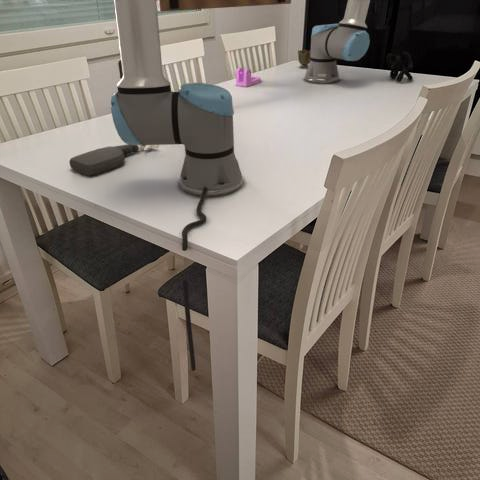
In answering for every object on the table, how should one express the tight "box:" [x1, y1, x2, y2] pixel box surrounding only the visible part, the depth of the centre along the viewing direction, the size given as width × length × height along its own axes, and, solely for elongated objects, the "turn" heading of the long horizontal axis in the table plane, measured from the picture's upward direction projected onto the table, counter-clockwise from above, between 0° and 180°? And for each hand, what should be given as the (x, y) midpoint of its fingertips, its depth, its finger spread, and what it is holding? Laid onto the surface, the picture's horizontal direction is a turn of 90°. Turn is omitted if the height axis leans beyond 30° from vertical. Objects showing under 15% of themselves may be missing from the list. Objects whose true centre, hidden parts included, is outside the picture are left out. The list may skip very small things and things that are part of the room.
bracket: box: [235, 67, 262, 88], centre depth 199 cm, size 13×6×7 cm, turn 143°
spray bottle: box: [68, 144, 160, 177], centre depth 124 cm, size 3×11×24 cm
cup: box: [297, 49, 311, 69], centre depth 225 cm, size 8×7×8 cm
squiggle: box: [385, 51, 414, 83], centre depth 198 cm, size 11×10×15 cm
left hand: (170, 7), depth 137 cm, fingers closed on bar, 5 cm apart
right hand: (277, 1), depth 157 cm, fingers closed on bar, 5 cm apart
